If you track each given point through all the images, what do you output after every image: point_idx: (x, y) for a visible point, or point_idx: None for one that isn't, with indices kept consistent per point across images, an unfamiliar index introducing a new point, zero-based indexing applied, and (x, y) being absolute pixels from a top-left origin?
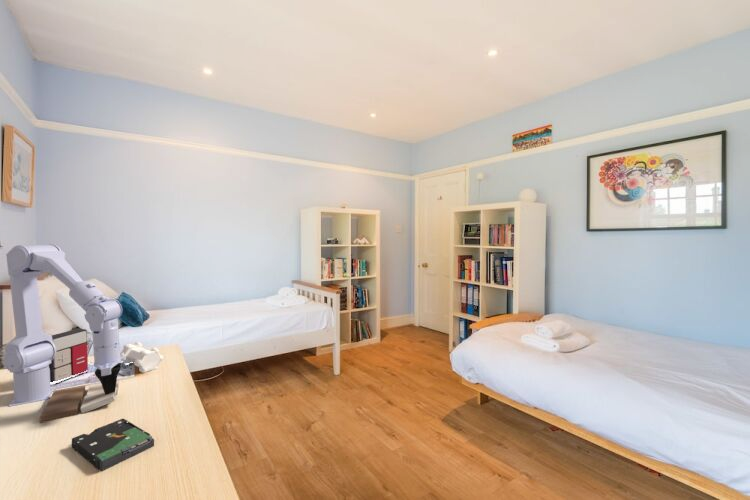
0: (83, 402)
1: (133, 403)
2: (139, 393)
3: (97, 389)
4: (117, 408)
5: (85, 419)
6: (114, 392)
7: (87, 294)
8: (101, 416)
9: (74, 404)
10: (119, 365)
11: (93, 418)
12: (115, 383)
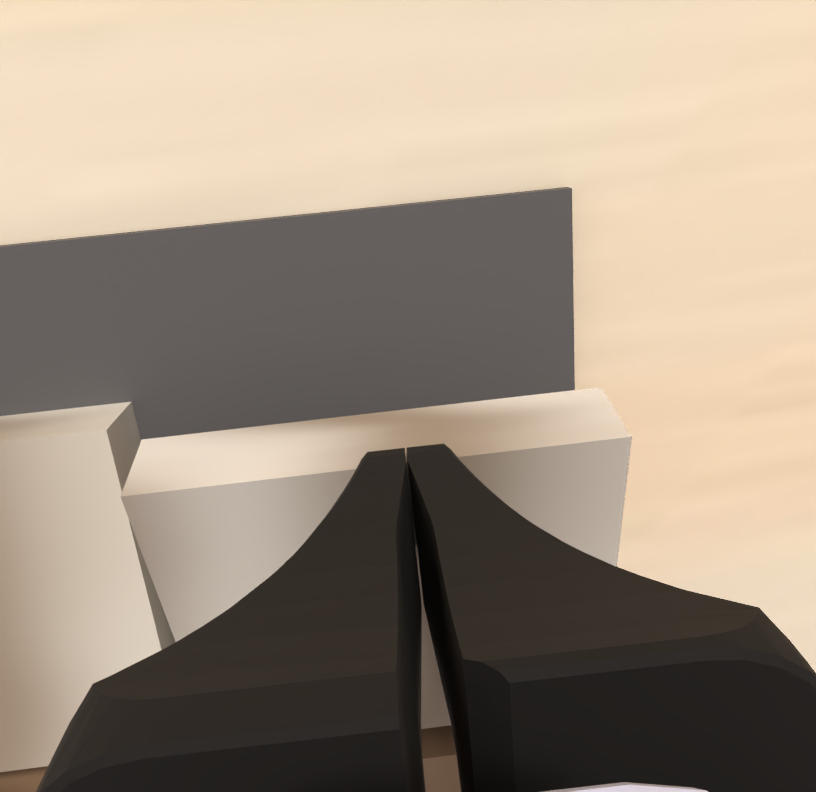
0: (431, 720)
1: (541, 140)
2: (174, 92)
3: (15, 678)
4: (596, 324)
5: (702, 583)
6: (442, 445)
7: None
8: (725, 454)
9: (442, 785)
10: (398, 754)
11: (727, 518)
12: (500, 505)
